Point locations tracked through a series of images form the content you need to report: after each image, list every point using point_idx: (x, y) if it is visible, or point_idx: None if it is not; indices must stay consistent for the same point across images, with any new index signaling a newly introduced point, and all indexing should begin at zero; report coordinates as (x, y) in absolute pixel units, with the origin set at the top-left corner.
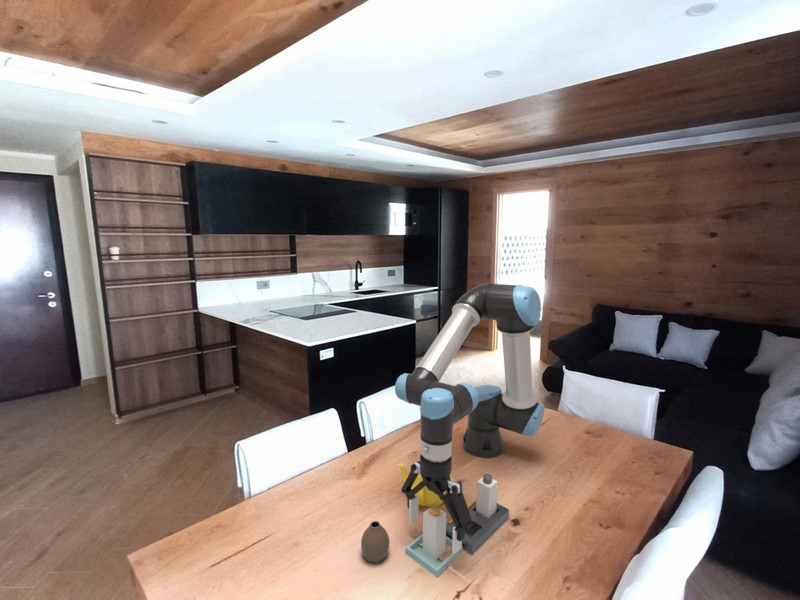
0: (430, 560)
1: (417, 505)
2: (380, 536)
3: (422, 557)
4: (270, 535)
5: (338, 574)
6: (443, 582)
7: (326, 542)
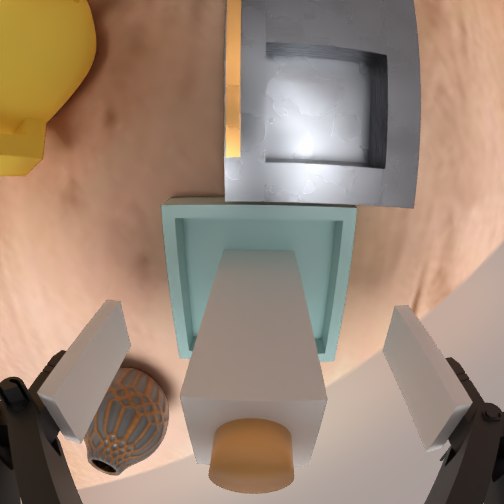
0: None
1: (84, 361)
2: (140, 456)
3: None
4: None
5: None
6: (351, 338)
7: None
